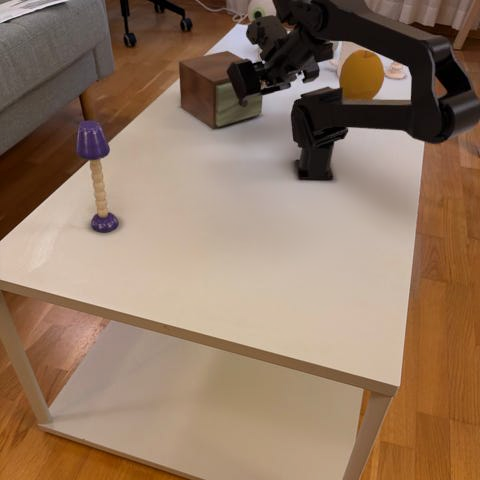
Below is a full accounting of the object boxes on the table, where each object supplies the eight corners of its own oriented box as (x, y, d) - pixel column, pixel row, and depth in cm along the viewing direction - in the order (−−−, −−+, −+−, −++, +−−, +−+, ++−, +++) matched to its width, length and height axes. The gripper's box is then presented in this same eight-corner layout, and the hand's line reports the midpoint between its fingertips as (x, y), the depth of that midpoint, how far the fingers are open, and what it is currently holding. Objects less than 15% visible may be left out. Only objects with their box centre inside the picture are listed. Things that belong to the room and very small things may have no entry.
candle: (404, 72, 129) (416, 29, 122) (403, 80, 126) (416, 35, 118) (384, 70, 130) (395, 26, 122) (383, 77, 126) (394, 32, 119)
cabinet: (259, 115, 108) (263, 69, 101) (213, 129, 103) (213, 81, 96) (226, 94, 115) (227, 50, 108) (180, 107, 110) (178, 61, 103)
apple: (385, 107, 114) (399, 52, 105) (358, 118, 109) (370, 62, 101) (352, 93, 119) (363, 39, 110) (325, 103, 114) (335, 48, 106)
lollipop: (242, 63, 129) (245, -3, 118) (249, 54, 134) (253, -10, 123) (268, 67, 128) (273, 1, 117) (274, 58, 133) (280, -7, 122)
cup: (364, 85, 122) (373, 40, 115) (318, 75, 125) (325, 31, 118) (372, 74, 128) (382, 31, 120) (328, 65, 131) (335, 22, 123)
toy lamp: (123, 217, 80) (108, 116, 68) (119, 234, 77) (102, 132, 65) (93, 216, 80) (73, 116, 68) (88, 234, 77) (66, 131, 65)
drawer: (265, 115, 106) (267, 78, 101) (222, 128, 101) (222, 90, 96) (230, 94, 113) (231, 58, 107) (188, 106, 108) (187, 68, 102)
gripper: (319, -5, 87) (273, 45, 100) (234, 10, 78) (197, 62, 92) (342, 57, 88) (294, 98, 102) (261, 78, 80) (221, 119, 94)
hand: (253, 93), depth 97 cm, fingers closed
